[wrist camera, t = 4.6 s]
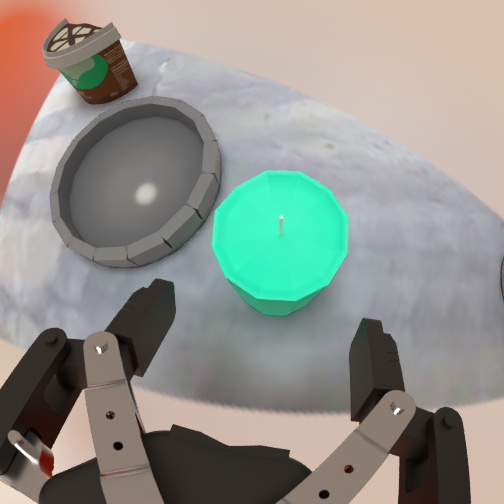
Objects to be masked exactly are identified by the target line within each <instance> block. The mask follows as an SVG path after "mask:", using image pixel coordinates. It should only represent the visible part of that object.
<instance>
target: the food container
mask: <svg viewBox="0 0 504 504" xmlns="http://www.w3.org/2000/svg"><path fill="white" fill-rule="evenodd" d="M120 38H121V36H120V34H119V33H118V31H117V29H116V28H115V27H114V26H113V24H112V23H110V24H108V25H107V26H105V27H104V28H100V27H96V26H93V25H90V24H86V23H85V24H69V23H68V21H67V19H66V18H65V19H64V20H63V21H62V22H60V23H59V24H58V25H57V26H56V27H55V28H54V29H53V30H52V31H51V32H50V34H49V35H48V36H47V38H46V39H45V41H44V43H43V46H42V47H43V48H42V49H43V56H44V59H45V61H46V64H47V66H48V67H49V68H53V69H58V70H59V71H60V72H61V73H62V74H63V76H64V77H65V78H66V79H67V80H68V81H69V82H70V84H71V85H72V86H73V87H74V88H75V89H76V90H77V92H78V93H79V94H80V95H81V96H82V97H83V98H84V100H85V101H86V102H88V103H90V104H95V105H96V104H104V103H107V102H110V101H113V100H115V99H117V98H119V97H121V96H123V95H125V94H126V93H128V92H129V91H131V90H132V89H133V88H135V87H136V86H137V85H138V83H137V81H136V79H135V76H134V74H133V72H132V69H131V67H130V64H129V62H128V60H127V57H126V55H125V52H124V50H123V48H122V45H121V43H120V40H119V39H120Z"/></svg>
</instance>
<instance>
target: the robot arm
mask: <svg viewBox="0 0 504 504" xmlns="http://www.w3.org/2000/svg"><path fill="white" fill-rule="evenodd" d="M502 290H503V296H504V260H503V265H502ZM175 313H176V306H175V292H174V284H173V282H171V281H166V280H162V279H157V278H156V279H155V280H154V281H153V282H152V283H151V285H150V286H149V287H148V288H145V287H142V288H141V289H139V290H138V291H136V292H134V293H133V294H132V296H131V297H130V298H129V299H128V301H127V302H126V303H125V305H124V306H123V308H122V309H121V310H120V311H119V312H118V314H117V315H116V316H115V318H114V319H113V320H112V322H111V323H110V324H109V326H108V327H107V328H106V330H105V331H101V332H96V333H93V334H91V335H90V336H88V337H87V339H86V340H79V339H68V338H67V336H66V333H65V332H64V331H63V330H62V329H59V328H50V329H47V330H45V331H43V332H42V333H41V334H40V335H39V336H38V338H37V339H36V340H35V341H34V343H33V344H32V345H31V347H30V348H29V349H28V351H27V352H26V353H25V355H24V356H23V358H22V359H21V360H20V362H19V363H18V365H17V366H16V367H15V369H14V370H13V372H12V373H11V374H10V376H9V377H8V379H7V380H6V382H5V383H4V385H3V386H2V388H1V389H0V481H2V482H3V483H4V484H6V485H9V486H11V487H12V488H14V489H16V490H17V491H20V492H21V493H23V494H24V495H26V496H27V497H29V498H30V499H32V500H33V501H35V502H37V503H38V504H348V503H349V502H350V501H351V500H352V499H353V498H354V497H355V496H356V495H357V493H358V492H359V491H360V490H361V489H362V488H363V487H364V485H365V484H366V483H367V482H368V481H369V480H370V478H371V477H372V476H373V474H375V472H376V471H377V470H378V468H379V467H380V466H381V465H382V463H383V462H384V461H385V459H386V458H387V456H388V455H389V453H390V454H393V455H396V456H399V458H400V459H399V460H400V462H399V463H400V465H399V495H398V504H471V495H470V478H469V467H468V457H467V449H466V442H465V435H464V428H463V422H462V418H461V417H460V415H459V413H458V412H457V411H455V410H454V409H452V408H449V407H443V408H440V409H438V410H437V411H436V412H435V413H432V412H429V411H426V410H423V409H420V408H418V407H416V406H415V402H414V400H413V399H412V397H411V396H410V395H408V394H407V393H405V388H404V382H403V377H402V371H401V366H400V363H399V355H398V351H397V346H396V343H395V341H394V340H393V338H392V337H391V335H390V334H386V333H383V328H382V323H381V321H380V320H374V319H367V318H363V319H362V321H361V323H360V325H359V328H358V330H357V332H356V335H355V337H354V339H353V341H352V344H351V347H350V352H349V365H350V393H351V421H356V422H359V426H358V427H357V429H355V430H354V431H353V432H352V433H351V434H350V435H349V436H348V437H347V439H346V440H345V441H344V442H343V443H342V444H341V445H340V446H339V447H338V448H337V449H336V450H335V451H334V452H333V453H332V454H331V455H330V456H329V457H328V458H327V459H326V460H325V461H324V462H323V463H322V464H321V465H320V466H319V467H318V468H317V469H316V470H315V471H314V472H312V471H311V470H310V469H309V468H307V467H306V466H305V465H303V464H302V463H300V462H299V461H297V460H294V459H292V458H290V457H289V452H290V450H286V449H279V448H273V447H267V446H261V445H259V446H228V445H225V444H223V443H221V442H219V441H217V440H215V439H213V438H211V437H209V436H207V435H205V434H203V433H201V432H199V431H195V430H191V429H188V428H185V427H181V426H178V425H174V424H173V425H172V427H171V430H170V431H153V432H150V433H146V431H145V429H144V426H143V423H142V421H141V418H140V414H139V411H138V407H137V404H136V400H135V397H134V393H133V389H132V386H131V382H130V380H131V379H132V377H133V375H137V376H140V377H143V376H144V374H145V372H146V370H147V368H148V366H149V365H150V363H151V361H152V359H153V357H154V355H155V354H156V352H157V350H158V348H159V346H160V345H161V343H162V341H163V339H164V337H165V336H166V334H167V332H168V330H169V329H170V327H171V325H172V323H173V321H174V318H175ZM83 389H85V398H86V405H87V412H88V417H89V423H90V428H91V433H92V438H93V443H94V448H95V452H96V456H97V457H95V458H93V459H91V460H89V461H86V462H84V463H82V464H80V465H77V466H75V467H73V468H71V469H68V470H65V471H63V472H61V473H58V474H56V475H54V476H52V471H53V469H54V456H53V453H52V452H51V448H52V446H53V444H54V442H55V440H56V438H57V436H58V434H59V433H60V430H61V429H62V427H63V425H64V423H65V421H66V419H67V417H68V415H69V413H70V412H71V410H72V408H73V406H74V404H75V402H76V400H77V398H78V397H79V395H80V393H81V391H82V390H83Z"/></svg>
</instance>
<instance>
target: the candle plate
mask: <svg viewBox="0 0 504 504" xmlns="http://www.w3.org/2000/svg"><path fill="white" fill-rule="evenodd" d="M58 165H59V166H57V168H56V172H55V175H54V179H53V183H52V187H51V191H50V194H51V195H50V205H51V215H52V223H53V225H54V227H55V228H56V230H57V232H58V233H59V235H60V237H61V238H62V240H63V242H64V243H65V245H66V246H67V247H68V248H70V249H72V250H74V251H76V252H77V253H79V254H81V255H83V256H85V257H87V258H89V259H91V260H93V261H95V262H97V263H99V264H101V265H103V266H110V267H115V268H132V267H139V266H143V265H147V264H150V263H153V262H155V261H158V260H160V259H162V258H164V257H166V256H168V255H170V254H171V253H173V252H174V251H175V250H177V249H178V248H180V247H181V246H182V245H183V244H185V243H186V242H187V241H188V240H189V239H190V238H191V237H192V236H193V235H194V234H195V233H196V232H197V230H198V229H199V228H200V227H201V225H202V224H203V223H204V221H205V220H206V218H207V217H208V215H209V213H210V211H211V209H212V207H213V205H214V203H215V200H216V198H217V195H218V191H219V187H220V180H221V163H220V151H219V148H218V145H217V141H216V138H215V136H214V134H213V132H212V130H211V128H210V126H209V124H208V122H207V120H206V118H205V116H204V115H203V114H202V113H201V112H199V111H198V110H196V109H195V108H193V107H192V106H190V105H189V104H187V103H186V102H184V101H183V100H182V101H181V100H179V99H173V98H166V97H159V96H154V97H153V96H150V97H145V98H140V99H135V100H130V101H126V102H125V103H124V102H123V103H121V104H119V105H117V106H115V107H113V108H112V109H110V110H108V111H106V112H104V113H102V114H100V115H99V116H98V118H97V117H96V118H95V119H94V120H93V121H91V122H90V123H89V124H88V125H87V126H86V127H85V128H84V129H83V130H82V131H81V132H80V133H79V134H78V135H77V136H76V137H75V139H73V140H72V142H71V143H70V145H69V147H68V148H67V150H66V151H65V153H64V155H63V156H62V158H61V160H60V161H59V163H58Z"/></svg>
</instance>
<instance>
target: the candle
mask: <svg viewBox="0 0 504 504" xmlns="http://www.w3.org/2000/svg"><path fill="white" fill-rule="evenodd" d="M212 248H213V250H214V253H215V255H216V257H217V259H218V262H219V264H220V266H221V268H222V271H223V273H224V275H225V277H226V278H227V280H228V281H229V282H230V283H231V285H232V286H233V287H234V288H235V289H236V291H237V292H238V293H239V294H240V296H241V297H242V298H243V299H244V300H245V302H246V303H248V304H249V305H250V306H252V307H253V308H255V309H256V310H258V311H259V312H261V313H262V314H264V315H278V316H286V315H288V314H290V313H292V312H294V311H296V310H298V309H300V308H302V307H304V306H305V305H306V304H307V303H308V302H310V301H311V300H312V299H313V298H314V297H315V296H316V295H317V294H319V293H320V292H321V291H322V290H323V289H324V288H325V287H326V286H327V285H328V284H329V283H330V281H331V280H332V278H333V276H334V275H335V273H336V271H337V270H338V268H339V267H340V265H341V263H342V262H343V260H344V258H345V257H346V255H347V253H348V215H347V214H346V212H345V211H344V209H343V208H342V206H341V205H340V203H339V202H338V200H337V199H336V197H335V196H334V195H333V193H332V192H331V190H330V189H329V188H327V187H326V186H324V185H322V184H321V183H319V182H317V181H316V180H314V179H312V178H311V177H309V176H307V175H306V174H304V173H302V172H301V171H272V170H266V171H264V172H263V173H261V174H259V175H257V176H255V177H254V178H252V179H250V180H248V181H247V182H245V183H243V184H241V185H240V186H238V187H236V188H235V189H234V190H233V192H232V193H231V194H230V195H229V196H228V197H227V198H226V199H225V200H224V201H223V202H222V204H221V205H220V206H219V207H218V208H217V209H216V210H215V215H214V227H213V239H212Z"/></svg>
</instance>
